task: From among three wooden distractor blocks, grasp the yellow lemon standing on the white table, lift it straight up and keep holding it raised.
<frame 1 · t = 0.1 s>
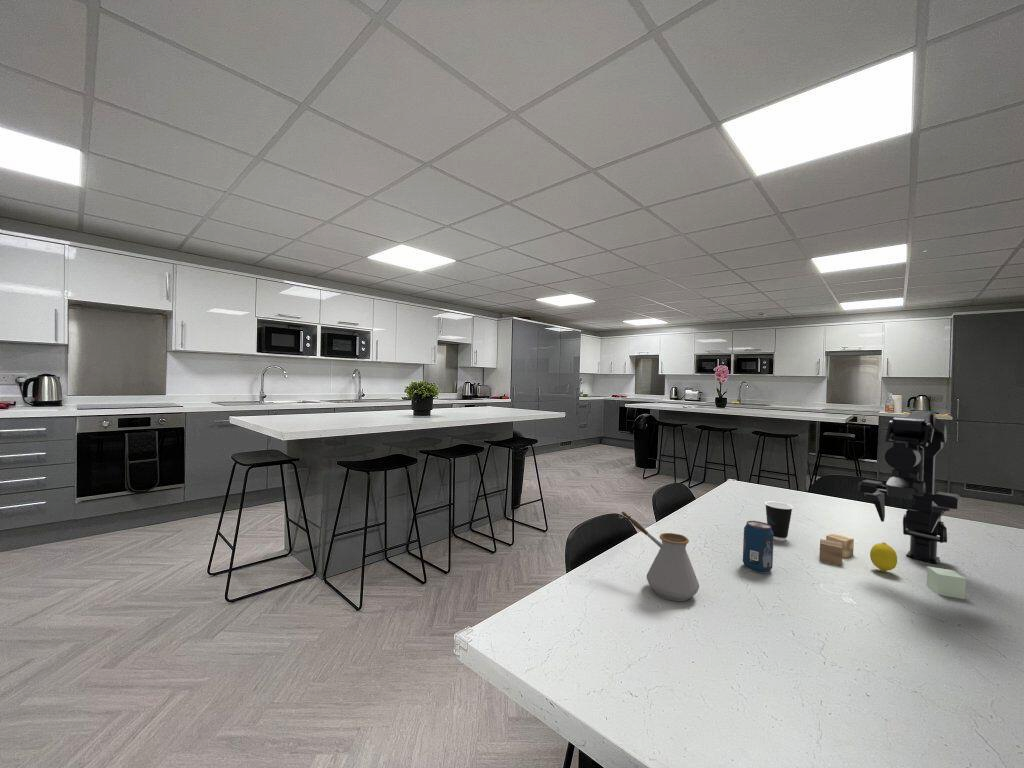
hand: (905, 526, 107), 14 cm above the table, fingers open, 9 cm apart
sage block: (945, 592, 103), on the table
walnut block: (830, 560, 120), on the table
oak block: (839, 553, 126), on the table
soda can: (757, 569, 113), on the table
coffee pot: (653, 585, 101), on the table
dixie cup: (777, 538, 137), on the table
lemon: (882, 572, 114), on the table
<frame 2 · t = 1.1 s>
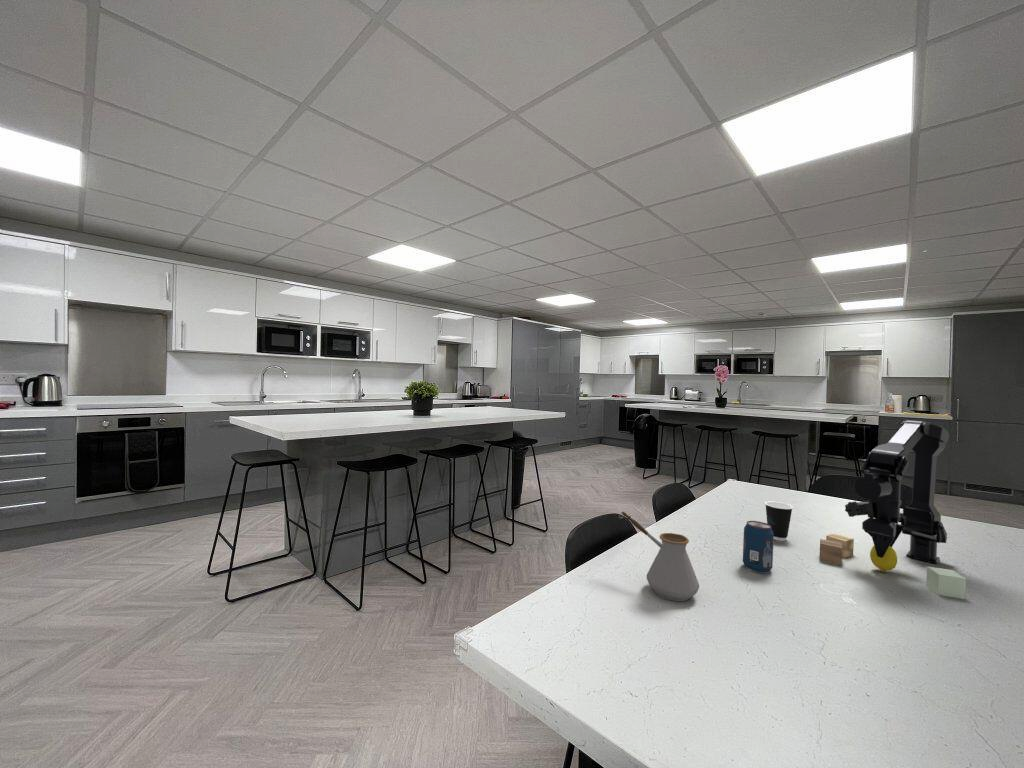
hand: (883, 553, 114), 5 cm above the table, fingers open, 9 cm apart
nothing on the table moved.
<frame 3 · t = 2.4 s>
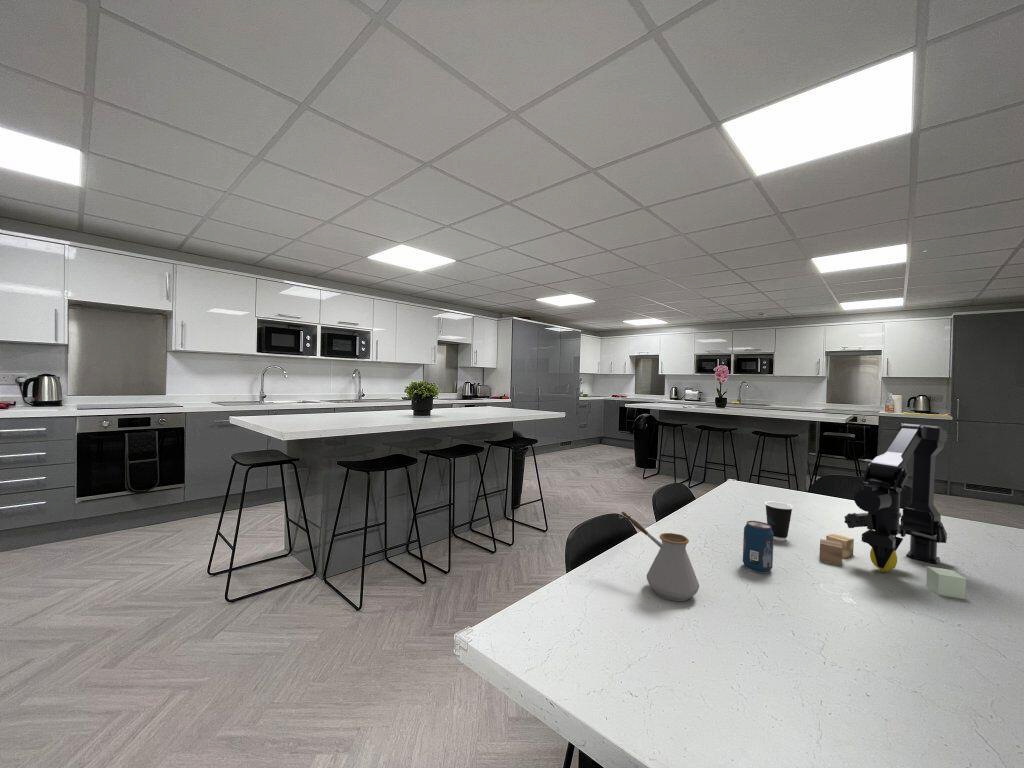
hand: (883, 565, 114), 2 cm above the table, fingers closed on lemon, 5 cm apart
lemon: (882, 572, 114), on the table, touching gripper
everything else where it was.
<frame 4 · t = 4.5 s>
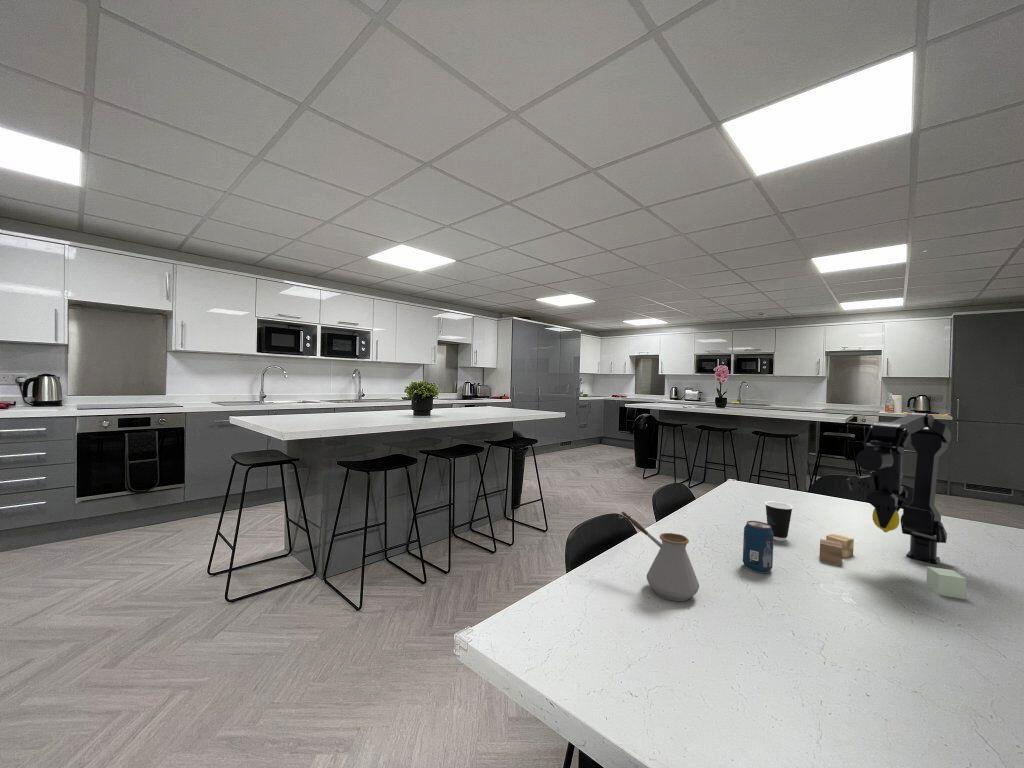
hand: (885, 525, 114), 12 cm above the table, fingers closed on lemon, 5 cm apart
lemon: (885, 533, 114), point 10 cm above the table, touching gripper
everything else where it was.
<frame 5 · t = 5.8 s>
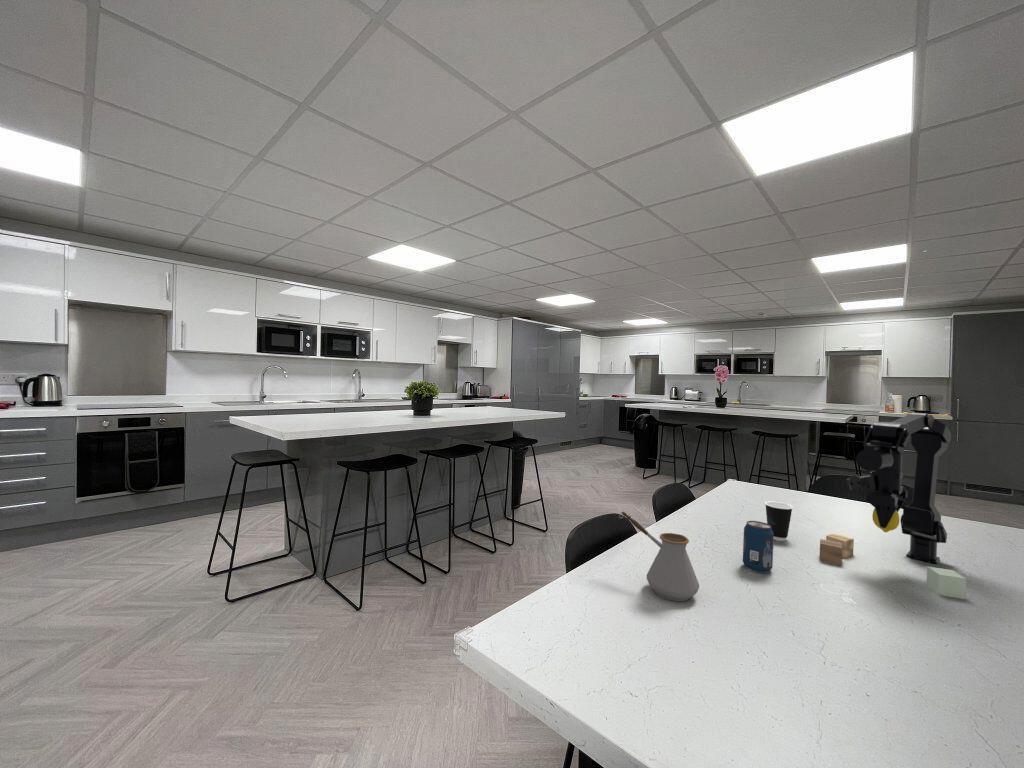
hand: (885, 525, 114), 12 cm above the table, fingers closed on lemon, 5 cm apart
lemon: (885, 533, 114), point 10 cm above the table, touching gripper
everything else where it was.
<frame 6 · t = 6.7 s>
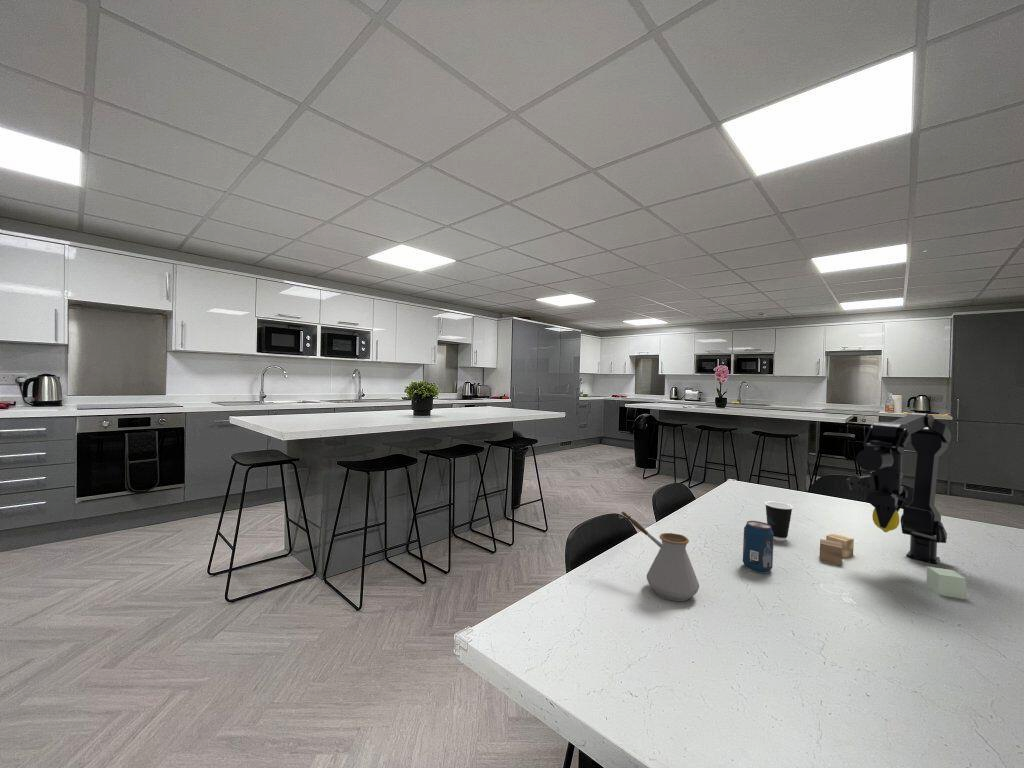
hand: (885, 525, 114), 12 cm above the table, fingers closed on lemon, 5 cm apart
lemon: (885, 533, 114), point 10 cm above the table, touching gripper
everything else where it was.
at the end: the gripper is holding lemon; lemon point 10.4 cm above the table; sage block moved 0.1 cm from its start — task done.
